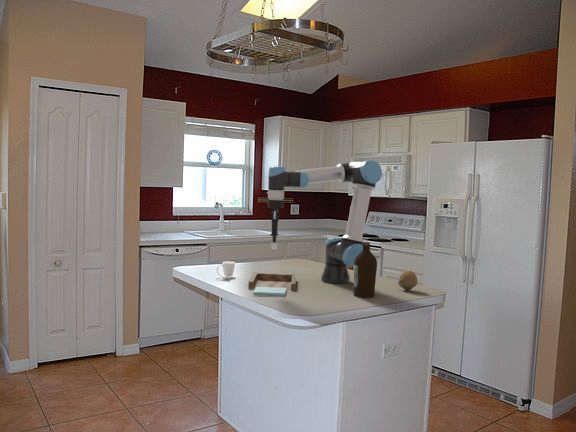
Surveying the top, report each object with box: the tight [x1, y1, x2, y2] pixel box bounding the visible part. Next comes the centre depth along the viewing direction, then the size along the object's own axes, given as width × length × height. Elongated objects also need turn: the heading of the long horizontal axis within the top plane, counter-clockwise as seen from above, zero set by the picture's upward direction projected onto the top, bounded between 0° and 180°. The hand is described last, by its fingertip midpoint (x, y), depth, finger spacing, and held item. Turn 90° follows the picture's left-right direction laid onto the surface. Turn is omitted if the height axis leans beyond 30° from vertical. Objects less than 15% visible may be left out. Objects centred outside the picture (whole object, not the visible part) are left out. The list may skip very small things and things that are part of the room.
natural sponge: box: [397, 270, 419, 291], centre depth 256 cm, size 9×9×10 cm
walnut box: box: [247, 272, 297, 292], centre depth 254 cm, size 22×25×4 cm
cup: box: [216, 260, 236, 279], centre depth 271 cm, size 7×10×8 cm
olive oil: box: [353, 241, 378, 299], centre depth 239 cm, size 11×11×25 cm
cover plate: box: [253, 287, 287, 299], centre depth 235 cm, size 14×12×2 cm
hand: (274, 249), depth 244 cm, fingers closed
